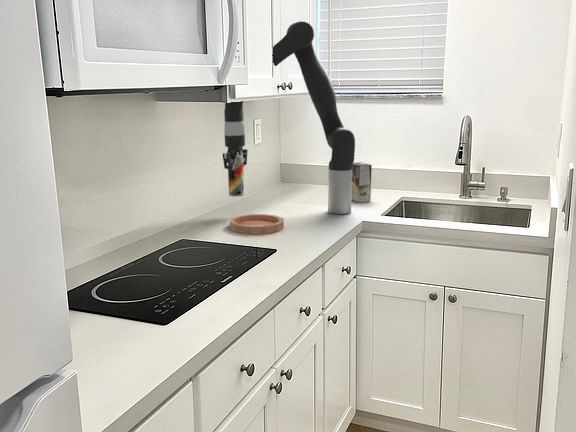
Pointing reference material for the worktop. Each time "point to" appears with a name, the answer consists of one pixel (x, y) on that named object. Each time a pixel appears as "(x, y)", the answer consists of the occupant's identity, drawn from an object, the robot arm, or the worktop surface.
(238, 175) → the lotion bottle
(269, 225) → the round tray
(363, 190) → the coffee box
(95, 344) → the worktop surface
